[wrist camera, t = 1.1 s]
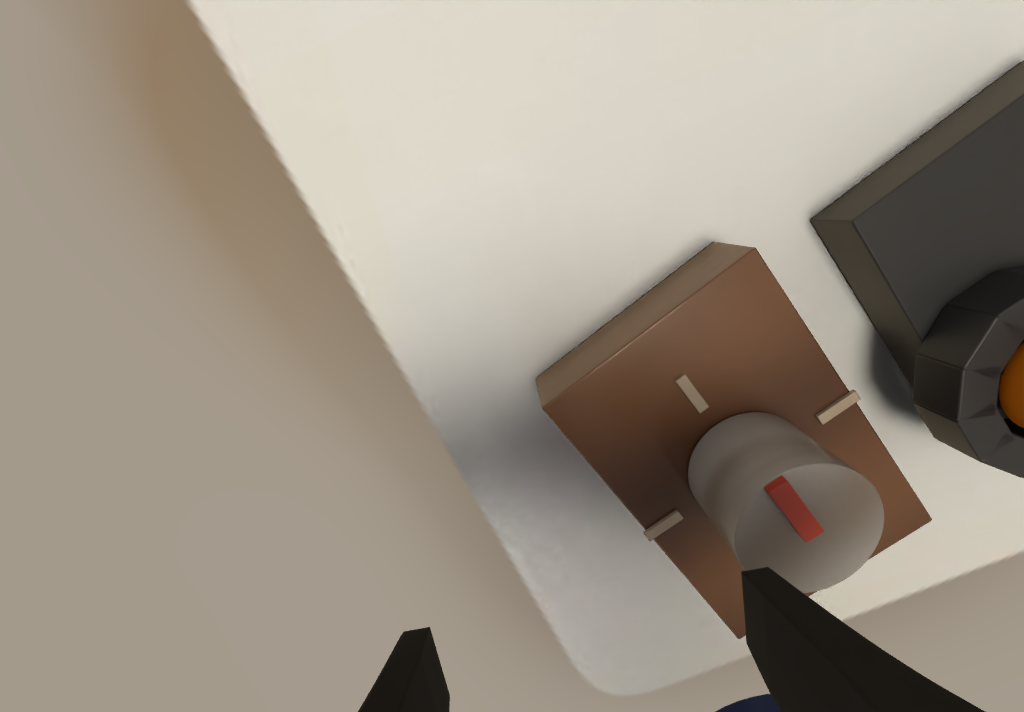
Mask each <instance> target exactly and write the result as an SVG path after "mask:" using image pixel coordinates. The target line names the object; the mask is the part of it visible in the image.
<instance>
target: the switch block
mask: <svg viewBox="0 0 1024 712" xmlns="http://www.w3.org/2000/svg"><path fill="white" fill-rule="evenodd" d="M811 222H812V224H813V225H814V227H815V229H816V230H817V232H818V233H819V235H820V237H821V238H822V240H823V242H824V243H825V245H826V247H827V248H828V250H829V251H830V253H831V255H832V256H833V258H834V260H835V261H836V263H837V265H838V266H839V268H840V270H841V271H842V273H843V274H844V276H845V278H846V279H847V281H848V283H849V284H850V286H851V288H852V289H853V291H854V293H855V294H856V296H857V297H858V299H859V301H860V302H861V304H862V306H863V307H864V309H865V311H866V312H867V314H868V315H869V317H870V319H871V320H872V322H873V324H874V325H875V327H876V329H877V330H878V332H879V334H880V335H881V337H882V338H883V340H884V342H885V343H886V345H887V347H888V348H889V350H890V352H891V353H892V355H893V357H894V358H895V360H896V361H897V363H898V365H899V366H900V368H901V370H902V371H903V373H904V375H905V376H906V378H907V379H908V381H909V383H910V384H911V386H912V388H913V404H914V405H915V407H916V409H917V410H918V412H919V414H920V415H921V417H922V419H923V420H924V422H925V423H926V425H927V427H928V428H929V430H930V432H931V433H932V435H933V436H934V438H936V439H938V440H939V441H941V442H943V443H945V444H947V445H949V446H951V447H953V448H955V449H957V450H958V451H960V452H962V453H964V454H966V455H968V456H970V457H972V458H974V459H976V460H978V461H980V462H982V463H985V464H987V465H990V466H992V467H995V468H998V469H1000V470H1003V471H1005V472H1008V473H1011V474H1013V475H1016V476H1018V477H1022V478H1024V428H1022V427H1020V426H1018V425H1016V424H1015V423H1014V422H1012V421H1011V420H1010V419H1009V418H1008V417H1007V415H1006V414H1005V412H1004V411H1003V409H1002V406H1001V403H1000V400H999V383H1000V378H1001V375H1002V372H1003V370H1004V368H1005V366H1006V365H1007V363H1008V362H1009V360H1010V359H1011V357H1012V356H1013V354H1014V353H1015V351H1016V350H1017V348H1018V347H1019V346H1020V345H1021V344H1022V343H1023V342H1024V61H1022V62H1021V63H1020V64H1018V65H1017V66H1016V67H1014V68H1013V69H1012V70H1010V71H1009V72H1008V73H1006V74H1005V75H1004V76H1002V77H1001V78H1000V79H998V80H997V81H996V82H994V83H993V84H992V85H990V86H989V87H988V88H986V89H985V90H984V91H982V92H981V93H980V94H978V95H977V96H976V97H974V98H973V99H972V100H970V101H969V102H968V103H966V104H965V105H964V106H962V107H961V108H960V109H958V110H957V111H956V112H954V113H953V114H952V115H950V116H949V117H948V118H946V119H945V120H944V121H942V122H941V123H940V124H938V125H937V126H936V127H934V128H933V129H932V130H930V131H929V132H927V133H926V134H925V135H923V136H922V137H921V138H919V139H918V140H917V141H915V142H914V143H913V144H911V145H910V146H909V147H907V148H906V149H905V150H903V151H902V152H901V153H899V154H898V155H897V156H895V157H894V158H893V159H891V160H890V161H889V162H887V163H886V164H885V165H883V166H882V167H881V168H879V169H878V170H877V171H875V172H874V173H873V174H871V175H870V176H869V177H867V178H866V179H865V180H863V181H862V182H861V183H859V184H858V185H857V186H855V187H854V188H853V189H851V190H850V191H849V192H847V193H846V194H845V195H843V196H842V197H841V198H839V199H838V200H837V201H835V202H834V203H833V204H831V205H830V206H829V207H827V208H826V209H825V210H823V211H822V212H821V213H819V214H818V215H817V216H815V217H814V218H813V219H811Z"/></svg>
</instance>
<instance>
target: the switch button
mask: <svg viewBox="0 0 1024 712" xmlns="http://www.w3.org/2000/svg"><path fill="white" fill-rule="evenodd" d="M999 400H1000V403H1001V406H1002V409H1003V411H1004V412H1005V414H1006V415H1007V417H1008V418H1009V419H1010V420H1011V421H1012V422H1014V423H1015V424H1016V425H1018V426H1020V427H1022V428H1024V342H1023V343H1022V344H1021V345H1020V346H1019V347H1018V348H1017V350H1016V351H1015V353H1014V354H1013V356H1012V357H1011V359H1010V360H1009V362H1008V363H1007V365H1006V366H1005V368H1004V370H1003V372H1002V375H1001V378H1000V383H999Z"/></svg>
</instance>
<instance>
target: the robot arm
mask: <svg viewBox="0 0 1024 712" xmlns="http://www.w3.org/2000/svg"><path fill="white" fill-rule="evenodd" d="M741 576H742V589H743V602H744V615H745V628H746V641H747V645H748V647H749V649H750V651H751V654H752V656H753V658H754V660H755V662H756V664H757V667H758V669H759V671H760V673H761V675H762V677H763V679H764V681H765V683H766V685H767V687H768V689H769V691H770V693H771V695H772V697H773V698H774V700H775V702H776V703H777V705H778V707H779V708H780V710H781V712H984V711H983V710H981V709H979V708H978V707H976V706H974V705H972V704H971V703H969V702H967V701H965V700H964V699H962V698H960V697H958V696H957V695H955V694H953V693H951V692H949V691H948V690H946V689H944V688H942V687H941V686H939V685H938V684H936V683H934V682H932V681H931V680H929V679H927V678H926V677H924V676H922V675H921V674H919V673H918V672H916V671H915V670H913V669H912V668H910V667H908V666H907V665H905V664H904V663H902V662H901V661H899V660H897V659H896V658H894V657H893V656H891V655H889V654H888V653H887V652H885V651H883V650H882V649H881V648H879V647H878V646H876V645H875V644H873V643H872V642H870V641H869V640H867V639H866V638H865V637H863V636H862V635H860V634H859V633H857V632H856V631H855V630H853V629H852V628H850V627H849V626H848V625H846V624H845V623H843V622H842V621H840V620H839V619H838V618H836V617H835V616H833V615H832V614H831V613H829V612H828V611H827V610H825V609H824V608H823V607H821V606H820V605H818V604H817V603H816V602H814V601H813V600H812V599H810V598H809V597H808V596H806V595H805V594H804V593H802V592H801V591H800V590H798V589H797V588H796V587H794V586H793V585H792V584H790V583H789V582H788V581H787V580H785V579H784V578H783V577H781V576H780V575H779V574H777V573H776V572H774V571H773V570H772V569H770V568H769V567H764V568H759V569H753V570H748V571H742V572H741ZM449 696H450V695H449V691H448V688H447V684H446V681H445V678H444V674H443V671H442V667H441V664H440V660H439V657H438V654H437V651H436V647H435V643H434V640H433V637H432V633H431V630H430V627H428V628H422V629H417V630H411V631H405V632H403V634H402V635H401V636H400V638H399V640H398V642H397V644H396V646H395V647H394V649H393V651H392V653H391V655H390V657H389V659H388V660H387V662H386V664H385V666H384V668H383V669H382V671H381V673H380V675H379V676H378V679H377V680H376V682H375V684H374V685H373V687H372V689H371V691H370V692H369V694H368V696H367V697H366V699H365V701H364V702H363V704H362V706H361V708H360V709H359V711H358V712H449V701H450V697H449Z"/></svg>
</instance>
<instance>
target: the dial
mask: <svg viewBox="0 0 1024 712" xmlns="http://www.w3.org/2000/svg"><path fill="white" fill-rule="evenodd" d="M688 481H689V486H690V489H691V492H692V494H693V496H694V498H695V499H696V501H697V502H698V504H699V505H700V507H701V508H702V510H703V511H704V512H705V514H706V515H707V517H708V518H709V520H710V521H711V523H712V524H713V526H714V527H715V528H716V530H717V531H718V533H719V534H720V536H721V537H722V539H723V540H724V542H725V543H726V544H727V546H728V547H729V549H730V550H731V552H732V553H733V555H734V556H735V558H736V559H737V560H738V562H739V563H740V565H741V566H742V568H743V569H744V571H748V570H753V569H759V568H764V567H769V568H770V569H772V570H773V571H774V572H776V573H777V574H779V575H780V576H781V577H783V578H784V579H785V580H787V581H788V582H789V583H790V584H792V585H793V586H794V587H796V588H797V589H798V590H800V591H801V592H802V593H810V592H815V591H819V590H822V589H826V588H828V587H831V586H833V585H835V584H838V583H839V582H841V581H843V580H845V579H846V578H848V577H849V576H851V575H852V574H853V573H855V572H856V571H857V570H858V569H859V568H860V567H861V566H862V565H863V564H864V563H865V562H866V561H867V560H868V559H869V557H870V556H871V555H872V553H873V552H874V550H875V548H876V546H877V545H878V542H879V540H880V538H881V534H882V531H883V525H884V509H883V504H882V501H881V498H880V495H879V494H878V492H877V490H876V488H875V487H874V486H873V484H872V483H871V482H870V481H869V480H868V479H867V478H866V477H865V476H864V475H862V474H861V473H859V472H858V471H857V470H855V469H854V468H852V467H851V466H850V465H848V464H847V463H846V462H844V461H843V460H841V459H840V458H839V457H837V456H836V455H834V454H833V453H832V452H830V451H829V450H827V449H826V448H825V447H823V446H822V445H821V444H819V443H818V442H816V441H815V440H814V439H812V438H811V437H809V436H808V435H807V434H805V433H804V432H803V431H801V430H800V429H798V428H797V427H796V426H794V425H793V424H791V423H790V422H788V421H787V420H785V419H783V418H781V417H779V416H777V415H773V414H769V413H763V412H751V413H743V414H739V415H735V416H733V417H730V418H728V419H725V420H723V421H722V422H720V423H718V424H717V425H715V426H714V427H713V428H711V429H710V430H709V431H708V432H707V433H706V434H705V435H704V436H703V437H702V438H701V440H700V441H699V442H698V444H697V445H696V447H695V449H694V451H693V453H692V455H691V459H690V462H689V468H688Z"/></svg>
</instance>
